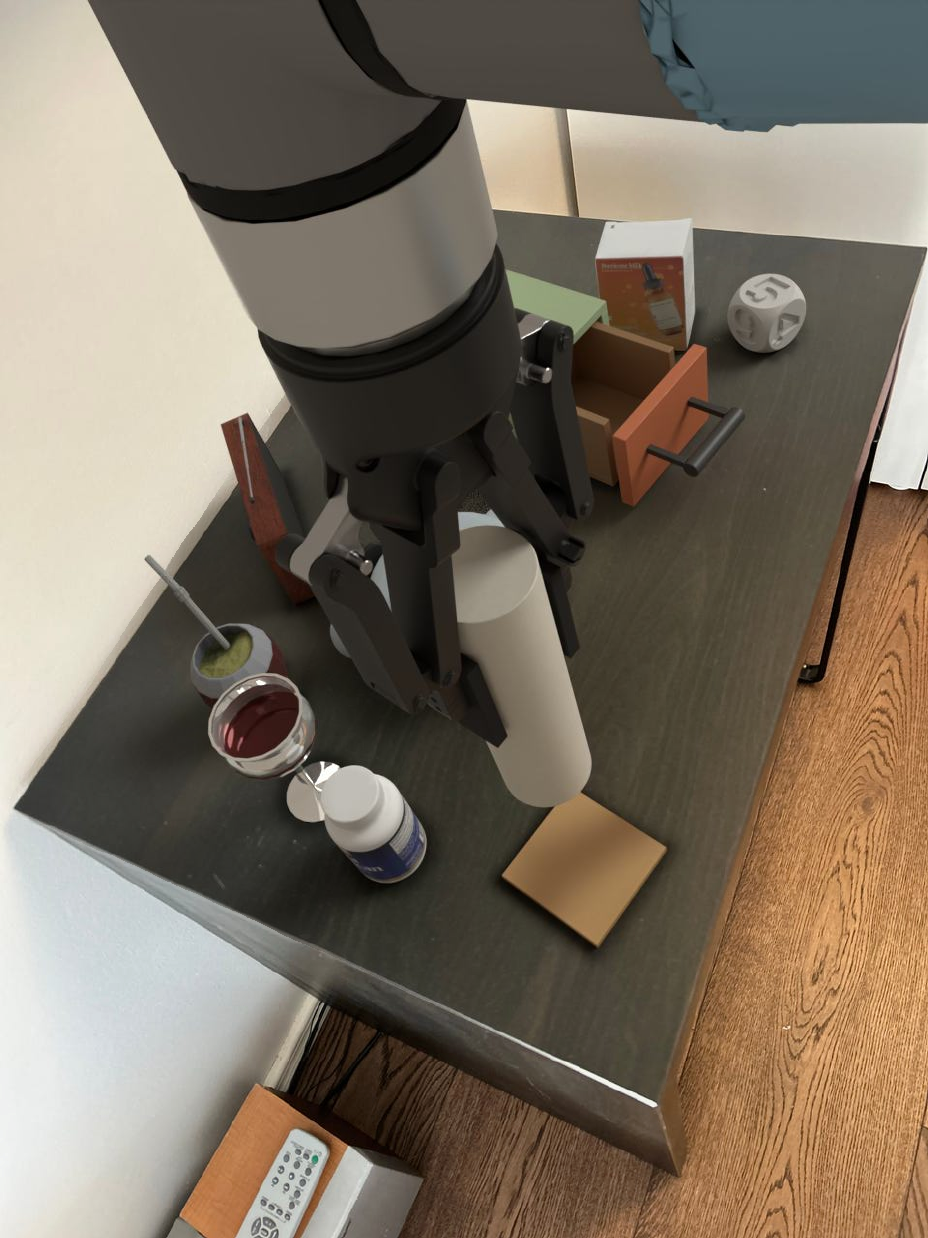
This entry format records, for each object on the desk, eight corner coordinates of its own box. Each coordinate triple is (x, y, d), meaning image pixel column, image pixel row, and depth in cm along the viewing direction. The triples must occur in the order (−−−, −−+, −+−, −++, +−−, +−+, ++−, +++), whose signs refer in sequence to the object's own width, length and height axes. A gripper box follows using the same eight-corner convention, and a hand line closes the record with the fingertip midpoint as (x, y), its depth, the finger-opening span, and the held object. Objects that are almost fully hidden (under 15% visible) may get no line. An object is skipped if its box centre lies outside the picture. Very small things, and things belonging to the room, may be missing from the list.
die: (805, 331, 89) (809, 286, 85) (767, 361, 88) (768, 317, 84) (764, 310, 92) (765, 265, 88) (726, 338, 91) (725, 294, 87)
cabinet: (617, 386, 91) (606, 300, 83) (535, 476, 87) (515, 395, 79) (497, 341, 99) (476, 259, 91) (416, 423, 94) (387, 344, 87)
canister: (609, 754, 53) (562, 554, 39) (555, 825, 52) (486, 643, 37) (538, 710, 56) (469, 508, 41) (484, 777, 54) (393, 590, 40)
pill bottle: (344, 873, 70) (294, 819, 62) (374, 805, 72) (330, 746, 64) (410, 895, 67) (368, 842, 60) (439, 825, 70) (402, 765, 62)
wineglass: (350, 739, 76) (294, 658, 66) (368, 814, 72) (311, 740, 62) (269, 769, 76) (201, 693, 66) (283, 846, 72) (213, 777, 62)
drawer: (759, 436, 82) (761, 365, 76) (684, 529, 79) (679, 462, 72) (583, 371, 92) (572, 303, 85) (508, 452, 88) (490, 387, 82)
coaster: (667, 850, 65) (666, 847, 65) (597, 948, 63) (596, 945, 62) (571, 789, 69) (570, 785, 69) (502, 878, 67) (501, 875, 66)
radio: (253, 486, 95) (182, 369, 83) (282, 474, 95) (215, 355, 83) (297, 625, 84) (222, 513, 72) (329, 611, 84) (260, 496, 72)
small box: (604, 351, 94) (591, 258, 86) (615, 313, 97) (603, 219, 88) (688, 351, 91) (683, 256, 83) (696, 312, 94) (692, 215, 86)
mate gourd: (293, 743, 77) (211, 640, 65) (204, 739, 79) (109, 639, 67) (315, 662, 81) (242, 552, 69) (230, 661, 83) (145, 553, 71)
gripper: (470, 87, 33) (566, 525, 51) (64, 436, 27) (339, 787, 46) (659, 125, 29) (689, 584, 47) (233, 541, 23) (457, 877, 42)
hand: (517, 683), depth 46 cm, fingers closed on canister, 5 cm apart
